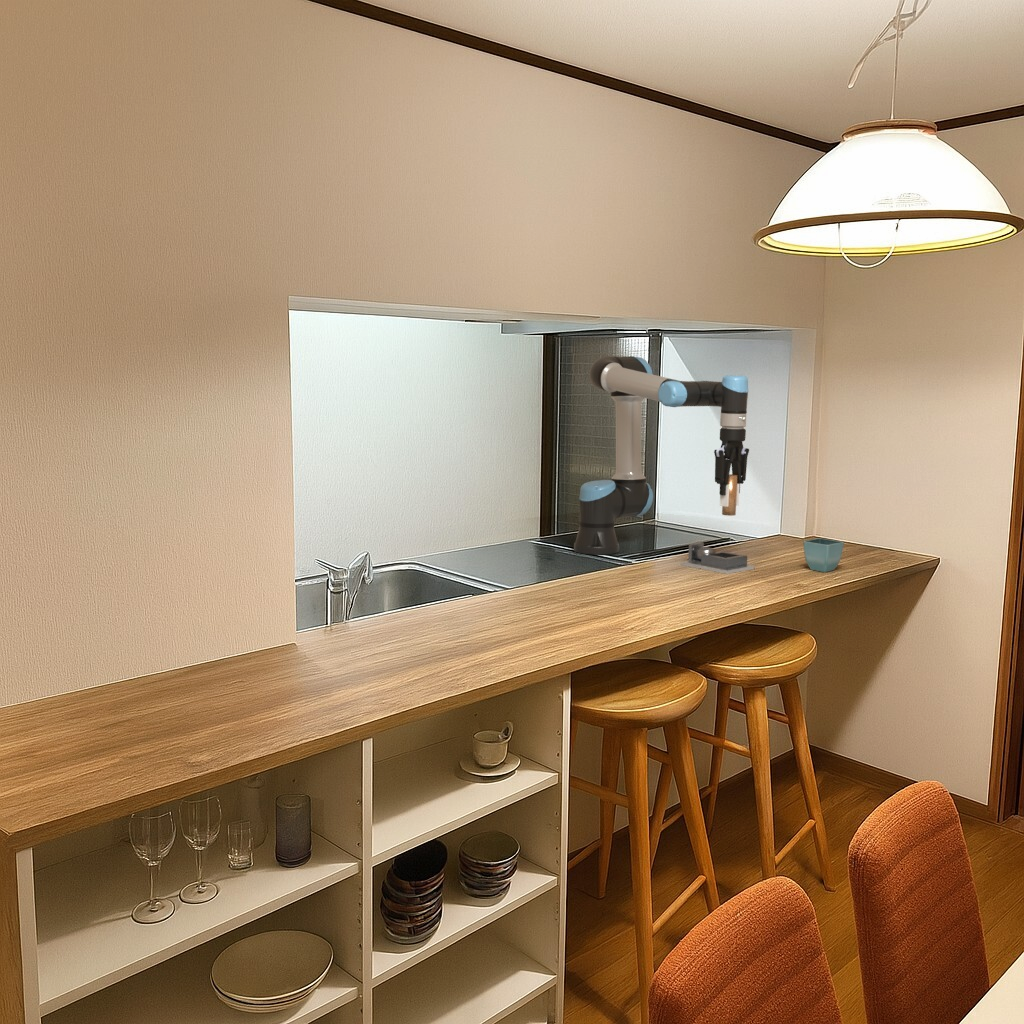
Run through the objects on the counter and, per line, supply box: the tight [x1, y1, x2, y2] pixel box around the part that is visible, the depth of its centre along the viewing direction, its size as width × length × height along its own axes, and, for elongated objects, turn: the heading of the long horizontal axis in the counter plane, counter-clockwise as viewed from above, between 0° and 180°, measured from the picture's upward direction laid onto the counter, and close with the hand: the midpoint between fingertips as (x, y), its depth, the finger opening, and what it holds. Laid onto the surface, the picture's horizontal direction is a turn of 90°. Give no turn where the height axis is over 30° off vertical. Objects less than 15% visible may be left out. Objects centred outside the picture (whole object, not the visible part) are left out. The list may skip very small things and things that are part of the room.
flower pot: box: [803, 537, 845, 573], centre depth 296 cm, size 9×9×9 cm
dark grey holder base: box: [680, 541, 755, 575], centre depth 301 cm, size 18×13×6 cm
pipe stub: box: [721, 473, 738, 517], centre depth 294 cm, size 4×4×12 cm
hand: (729, 505), depth 294 cm, fingers closed on pipe stub, 4 cm apart
